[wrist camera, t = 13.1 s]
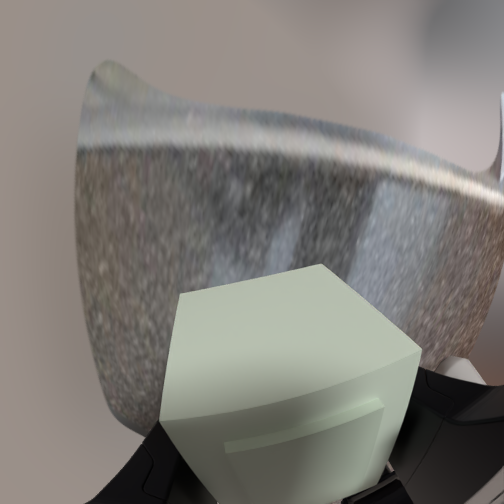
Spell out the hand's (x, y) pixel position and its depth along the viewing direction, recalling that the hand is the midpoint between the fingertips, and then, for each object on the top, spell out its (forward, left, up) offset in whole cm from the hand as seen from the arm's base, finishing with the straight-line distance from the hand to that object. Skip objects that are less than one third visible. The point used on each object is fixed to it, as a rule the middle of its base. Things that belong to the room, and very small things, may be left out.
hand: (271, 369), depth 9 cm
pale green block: (0, 0, -1) cm, 1 cm away
